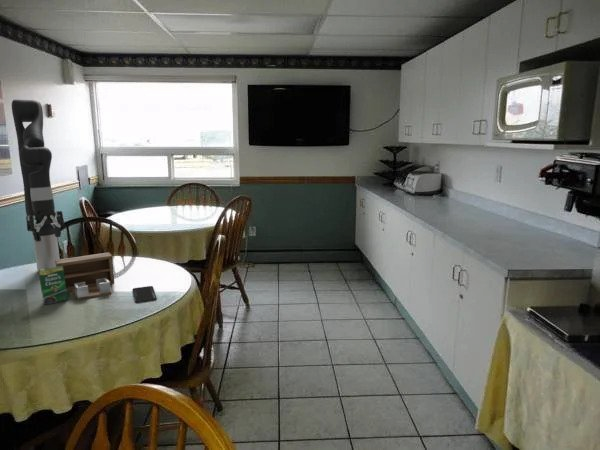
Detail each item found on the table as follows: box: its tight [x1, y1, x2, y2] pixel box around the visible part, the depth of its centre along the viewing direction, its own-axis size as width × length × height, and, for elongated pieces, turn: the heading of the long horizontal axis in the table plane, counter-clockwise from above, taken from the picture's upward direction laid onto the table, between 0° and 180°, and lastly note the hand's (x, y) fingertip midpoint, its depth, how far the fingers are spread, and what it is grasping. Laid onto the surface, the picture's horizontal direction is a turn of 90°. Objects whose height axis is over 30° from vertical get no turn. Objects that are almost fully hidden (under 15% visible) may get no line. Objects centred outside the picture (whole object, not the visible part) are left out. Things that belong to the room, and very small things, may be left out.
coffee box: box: [37, 266, 68, 306], centre depth 160 cm, size 8×3×13 cm, turn 126°
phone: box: [131, 285, 157, 304], centre depth 168 cm, size 8×1×15 cm
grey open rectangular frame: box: [74, 278, 112, 298], centre depth 168 cm, size 6×12×4 cm, turn 126°
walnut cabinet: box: [55, 251, 115, 301], centre depth 172 cm, size 18×20×12 cm
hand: (48, 239), depth 173 cm, fingers open, 8 cm apart
